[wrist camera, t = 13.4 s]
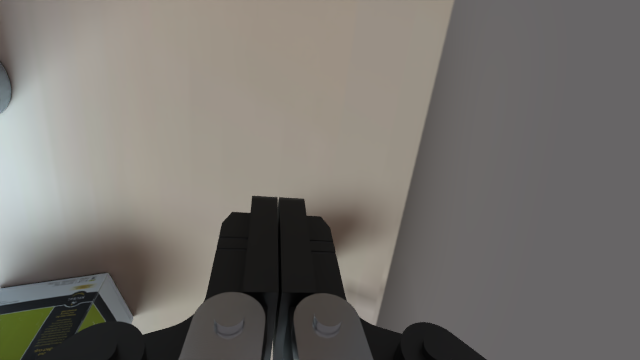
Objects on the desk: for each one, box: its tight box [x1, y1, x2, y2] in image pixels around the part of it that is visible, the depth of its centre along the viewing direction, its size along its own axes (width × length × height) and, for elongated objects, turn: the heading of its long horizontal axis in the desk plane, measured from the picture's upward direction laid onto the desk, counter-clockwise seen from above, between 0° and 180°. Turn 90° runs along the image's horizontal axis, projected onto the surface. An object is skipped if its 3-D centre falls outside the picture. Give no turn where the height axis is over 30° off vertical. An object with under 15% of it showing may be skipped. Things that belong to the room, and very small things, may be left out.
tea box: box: [0, 273, 133, 360], centre depth 43 cm, size 15×10×15 cm, turn 95°
